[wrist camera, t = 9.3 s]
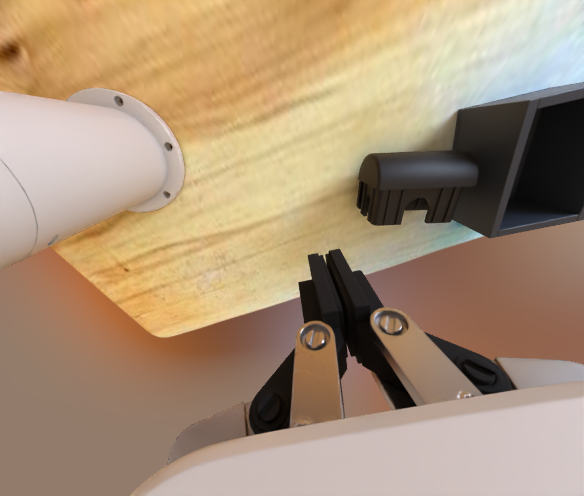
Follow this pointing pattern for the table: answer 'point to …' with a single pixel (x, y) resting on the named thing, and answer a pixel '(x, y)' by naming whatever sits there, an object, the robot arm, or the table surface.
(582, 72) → the table surface
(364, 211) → the end cap
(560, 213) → the box
